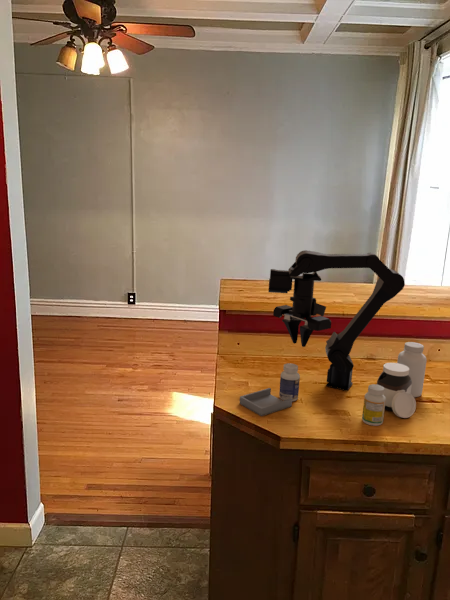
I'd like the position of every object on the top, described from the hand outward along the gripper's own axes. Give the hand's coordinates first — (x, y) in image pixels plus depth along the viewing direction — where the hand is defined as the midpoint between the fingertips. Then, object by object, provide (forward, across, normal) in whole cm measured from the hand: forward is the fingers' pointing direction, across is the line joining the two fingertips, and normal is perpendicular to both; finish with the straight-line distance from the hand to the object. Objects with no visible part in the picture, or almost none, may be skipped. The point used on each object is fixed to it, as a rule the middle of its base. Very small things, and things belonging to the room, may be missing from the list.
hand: (299, 345), depth 161 cm
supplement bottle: (+12, -30, +2) cm, 32 cm away
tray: (+12, -7, +19) cm, 23 cm away
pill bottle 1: (+12, -7, +10) cm, 17 cm away
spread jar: (+12, -28, -10) cm, 33 cm away
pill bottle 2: (+12, -24, -23) cm, 35 cm away
